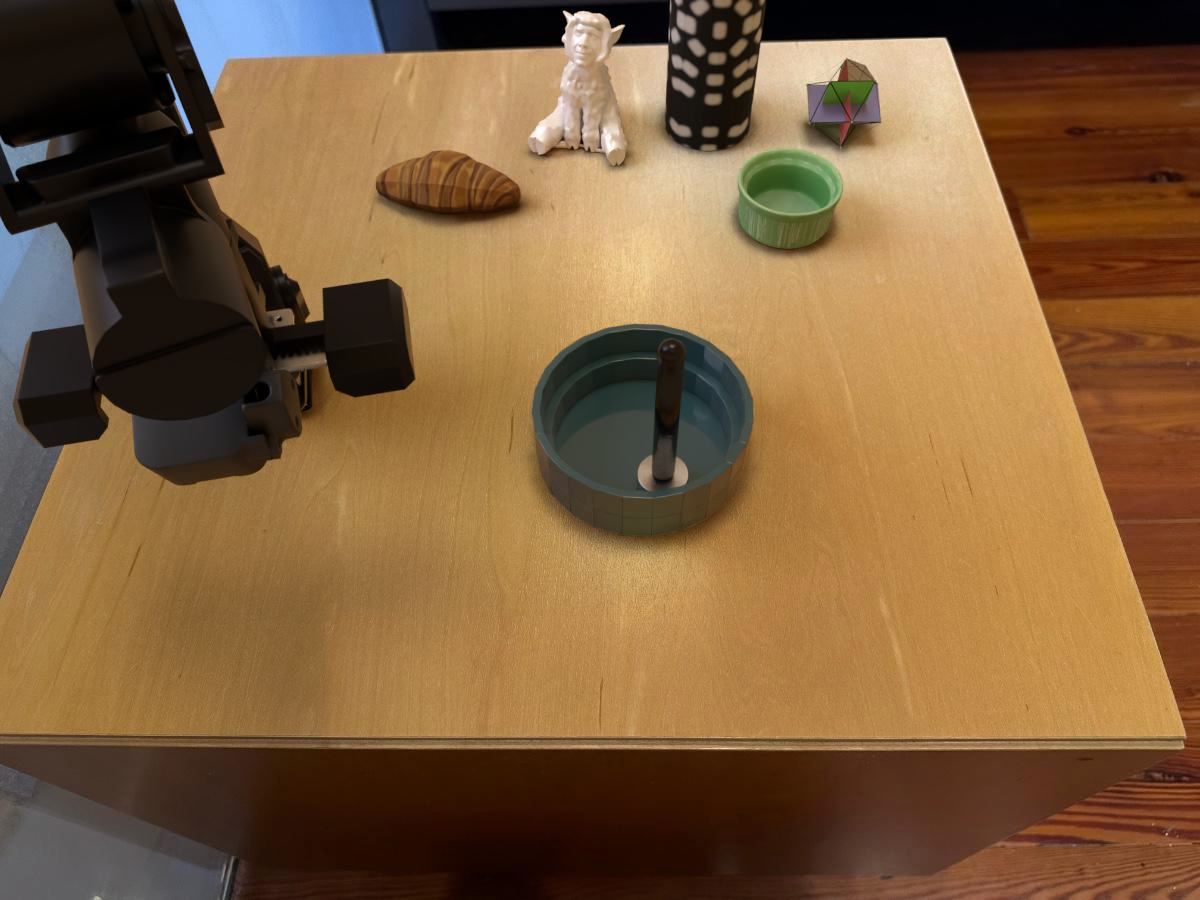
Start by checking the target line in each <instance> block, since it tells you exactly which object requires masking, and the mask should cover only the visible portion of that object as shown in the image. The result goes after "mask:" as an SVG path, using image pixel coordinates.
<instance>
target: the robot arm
mask: <svg viewBox="0 0 1200 900" xmlns="http://www.w3.org/2000/svg"><path fill="white" fill-rule="evenodd" d="M174 90H175V91H174ZM175 93H176V94H175ZM176 96H177V97H178V100H179V102H180V105H181V108H182V110H183V113H184V114H185V117H186V120H187V122H188V125H189V126H190V129H191V131H192V132H191V133H190V132H189V131H188V129H187V127H186V124H185V122H184V119H183V117H182V115H181V112H180V109H179V107H178V105H177V102H176V100H177V98H176ZM224 128H226V126H225V124H224V121H223V119H222V116H221V113H220V111H219V109H218V106H217V104H216V101H215V98H214V96H213V93H212V91H211V89H210V85H209V83H208V81H207V78H206V76H205V73H204V71H203V69H202V66H201V63H200V61H199V58H198V56H197V53H196V51H195V48H194V46H193V44H192V41H191V38H190V35H189V33H188V31H187V28H186V25H185V23H184V21H183V19H182V15H181V13H180V11H179V7H178V6H177V3H176V0H0V139H1V140H2V142H3V144H4V145H6V146H8V147H10V148H11V149H16V148H19V147H20V148H24V147H27V146H30V145H34V144H39V143H43V142H45V141H48V144H47V147H46V153H45V159H44V160H41V161H37V162H33V163H28V164H26V165H25V164H24V165H22V166H20V167H18V168H17V169H16V170H15V172H14V173H13V171H12V169H11V165H10V164H9V162H8V159H7V157H6V154H5V152H4V149H3V147H2V144H1V143H0V219H1V222H2V224H3V226H4V228H5V229H6V231H7V232H8V233H9V234H10V236H14V235H18V234H21V233H25V232H29V231H32V230H35V229H39V228H42V227H46V226H50V225H53V224H56V225H57V227H58V228H59V229H60V231H61V233H62V234H63V236H64V238H65V240H66V241H67V242H68V245H69V247H70V252H71V264H72V269H73V275H74V280H75V285H76V291H77V296H78V300H79V306H80V311H81V316H82V322H83V323H82V324H76V325H69V326H62V327H56V328H55V327H54V328H49V329H42V330H35V331H31V332H30V335H29V337H28V339H27V340H26V343H25V345H24V346H25V347H24V351H23V355H22V360H21V364H20V369H19V372H18V377H17V381H16V387H15V391H14V396H13V401H12V409H13V412H14V416H15V419H16V423H17V424H18V425H19V426H20V427H21V428H22V429H23V430H24V432H25V433H26V434H27V435H28V436H29V437H30V438H31V439H32V440H33V442H35V443H36V444H37V445H39V446H40V447H41V448H43V449H50V448H57V447H62V446H68V445H75V444H79V443H85V442H92V441H98V440H100V439H101V438H102V436H103V435H104V433H105V432H106V431H107V429H108V428H109V422H110V417H109V416H108V414H107V413H106V412H105V410H104V409H103V408H102V406H101V405H102V399H103V397H104V398H106V399H107V400H108V401H109V402H110V403H111V404H112V405H113V406H115V407H116V408H118V409H120V410H122V411H124V412H126V413H127V414H129V415H131V421H132V424H131V425H132V437H133V438H132V439H133V451H134V457H135V458H136V460H137V463H139V464H140V465H141V466H142V467H144V468H146V469H148V470H149V471H151V472H152V473H154V474H156V475H158V476H159V477H161V478H163V479H164V480H166V481H168V482H169V483H171V484H173V485H175V486H179V487H185V486H186V487H187V486H192V485H196V484H197V483H203V482H208V481H214V480H219V479H220V480H221V479H227V478H233V477H246V476H251V475H254V474H256V473H258V472H259V471H260V470H262V469H264V467H265V465H266V464H267V462H269V461H274V460H275V461H276V460H281V459H282V455H283V443H284V442H285V441H286V440H289V439H295V438H299V437H300V436H301V435H302V433H303V421H302V413H306V412H309V411H310V410H311V409H313V372H312V371H313V369H314V370H315V369H320V368H326V367H327V370H328V374H329V378H330V382H331V383H332V385H333V388H334V391H336V392H338V393H340V394H344V395H346V396H348V397H352V398H355V399H356V398H361V397H367V396H374V395H380V394H386V393H387V394H388V393H392V392H397V391H404V390H407V389H408V388H409V387H410V386H411V385H412V384H413V383H414V382H415V381H416V371H415V369H416V368H415V361H414V352H413V351H414V350H413V343H412V342H413V341H412V334H411V326H410V323H411V322H410V315H409V314H410V313H409V308H408V304H407V301H406V296H405V293H404V289H403V287H402V286H400V285H399V284H398V283H397V282H395V281H394V280H393V279H391V278H390V277H389V278H388V277H386V278H382V279H381V278H380V279H373V280H367V281H361V282H360V281H359V282H353V283H347V284H341V285H340V284H339V285H334V286H333V285H332V286H327V287H322V288H321V289H322V291H321V292H322V318H323V319H320V320H314V321H306V320H307V318H308V317H309V316H310V314H311V312H310V310H309V307H308V305H307V302H306V300H305V297H304V294H303V292H302V289H301V287H300V284H299V281H297V280H295V279H293V278H291V277H289V276H288V273H287V272H284V270H283V268H282V267H281V264H276V265H273V266H271V267H270V264H269V262H268V260H267V257H266V254H265V252H264V250H263V247H262V245H261V243H260V240H259V239H258V238H257V237H256V236H255V235H254V234H253V233H251V232H250V231H249V230H247V229H246V228H244V227H243V226H242V225H241V224H240V223H238V222H237V221H236V220H234V219H233V218H232V217H230V216H229V215H228V214H226V213H225V212H224V211H223V210H222V209H221V207H220V204H219V202H218V199H217V198H216V195H215V193H214V190H213V188H212V186H211V183H210V181H209V180H210V179H213V178H217V177H220V176H223V175H226V171H225V169H224V166H223V163H222V160H221V158H220V154H219V153H218V150H217V147H216V144H215V142H214V139H213V137H212V134H211V132H214V131H217V130H221V129H224ZM13 174H14V175H15V176H14V175H13ZM15 177H16V179H17V180H16V179H15Z"/></svg>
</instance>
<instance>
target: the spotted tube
mask: <svg viewBox="0 0 1200 900" xmlns="http://www.w3.org/2000/svg"><path fill="white" fill-rule="evenodd" d="M766 6H767V0H669V21H668V41H667V61H666V62H667V63H666V82H665V83H666V84H665V85H666V86H665V103H664V105H665V106H664V129H665V132H666V133H667V135H668V136H669V138H671V139H672V140H673V141H674V142H676V143H677V144H680V145H681V146H683V147H686V148H689V149H691V150H697V151H707V152H709V151H711V152H712V151H721V150H725V149H728V148H731V147H733V146H735V145H736V146H737V145H738V144H739V143H741V142H742V141H743V140H745V138H746V137H747V135H748V133H749V131H750V125H751V117H752V109H753V103H754V96H755V88H756V81H757V73H758V65H759V59H760V50H761V44H762V38H763V37H762V35H763V30H764V22H765V13H766Z"/></svg>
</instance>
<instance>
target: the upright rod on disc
mask: <svg viewBox="0 0 1200 900" xmlns="http://www.w3.org/2000/svg"><path fill="white" fill-rule="evenodd" d="M685 353H686V352H685V347H684V345H683V344H682V342H681V341H679V340H677V339H674V338H670V339H666V340H664V341H663V342H662V343H661V344H660V346H659V348H658V358H657V377H656V396H655V415H654V434H653V452H652V455H650V456H648V457H646V458H645V459H644V460H643V461H642V462H641V463H640V465H639V467H638V469H637V489H638V491H658V490H664V489H669V488H675V487H680V486H683V485H685V484H687V483H688V481H689V471H688V468H687V466H686V464H685V463H684V462H683V461H682V460H681V459H680V458H679V457H677V456H676V453H677V442H678V431H679V420H680V409H681V398H682V387H683V375H684V364H685Z"/></svg>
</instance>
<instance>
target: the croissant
mask: <svg viewBox="0 0 1200 900" xmlns="http://www.w3.org/2000/svg"><path fill="white" fill-rule="evenodd" d="M375 190H376V191H377V193H378V195H380V196H382V197H384V198H386V199H388V200H390V201H392V202H395V203H398V204H401V205H404V206H406V207H413V208H420V209H422V210H425V211H429V212H430V211H431V212H433V213H439V214H464V213H479V214H480V213H490V212H495V211H503V210H507V209H511V208H514V207H517V206H518V205H519V203H520V201H521V197H522V193H521V192H522V191H521V189H520V186H519V184H518V183H516V182H515V181H514V180H513V179H511V178H510V177H509V176H508V175H507V174H506V173H505V174H504V173H502V172H501V171H499V170H497V169H495V168H494V167H491V166H490V165H487V164H486V163H482V162H479V161H477V160H476V159H474V158H473V157H471V155H468V154H467V153H463V152H460V151H455V150H452V149H451V150H450V149H443V150H432V151H430V152H428V153H427V154H425V155H423V156H420V157H419V156H418V157H414V158H410V159H407V160H405V161H402V162H398V163H396V164H393V165H391V166H389V167H388V168H386V169H384V170H383V171H381V172H379V173H378V175H377V176H376V177H375Z"/></svg>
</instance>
